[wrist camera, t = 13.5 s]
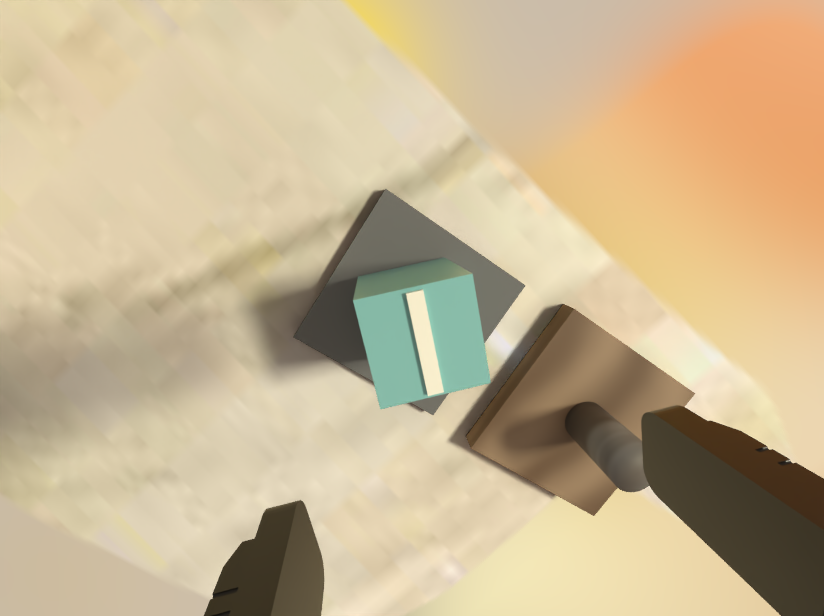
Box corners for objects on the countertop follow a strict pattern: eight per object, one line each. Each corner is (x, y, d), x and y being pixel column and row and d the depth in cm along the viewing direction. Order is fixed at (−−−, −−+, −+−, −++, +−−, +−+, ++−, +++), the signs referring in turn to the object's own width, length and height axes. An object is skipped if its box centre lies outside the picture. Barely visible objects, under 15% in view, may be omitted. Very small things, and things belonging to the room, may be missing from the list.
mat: (295, 333, 25) (293, 337, 24) (385, 189, 24) (385, 188, 23) (431, 409, 28) (432, 415, 27) (520, 283, 26) (525, 285, 25)
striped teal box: (358, 276, 24) (352, 301, 17) (444, 257, 24) (473, 274, 17) (377, 357, 25) (380, 411, 18) (459, 338, 26) (492, 384, 19)
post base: (465, 436, 28) (495, 505, 22) (563, 303, 27) (628, 333, 20) (583, 501, 31) (642, 581, 24) (679, 384, 29) (771, 435, 23)
